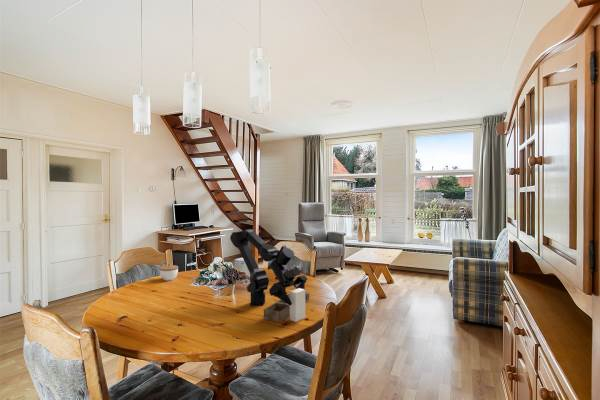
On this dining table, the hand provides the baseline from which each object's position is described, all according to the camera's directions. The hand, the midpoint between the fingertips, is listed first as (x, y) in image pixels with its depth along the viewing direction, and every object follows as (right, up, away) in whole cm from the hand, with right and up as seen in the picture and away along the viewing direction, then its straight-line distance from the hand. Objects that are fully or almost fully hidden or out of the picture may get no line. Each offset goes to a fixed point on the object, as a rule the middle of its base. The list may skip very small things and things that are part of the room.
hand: (298, 301), depth 127 cm
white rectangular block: (-1, -7, +1) cm, 7 cm away
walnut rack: (-5, -7, +11) cm, 14 cm away
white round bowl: (-82, -7, +62) cm, 103 cm away
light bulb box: (-37, -7, +73) cm, 82 cm away
